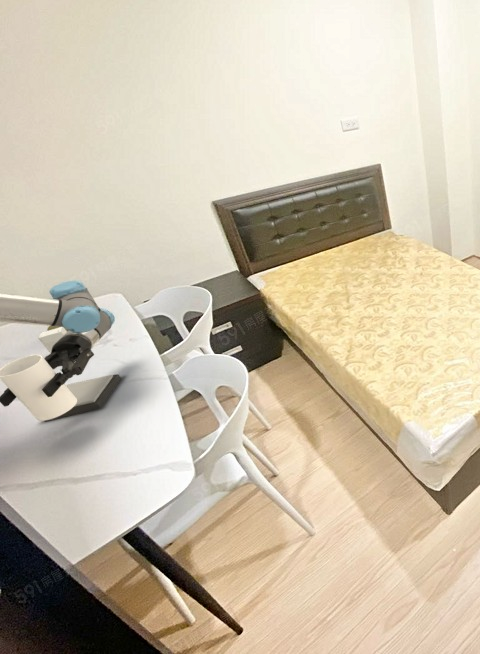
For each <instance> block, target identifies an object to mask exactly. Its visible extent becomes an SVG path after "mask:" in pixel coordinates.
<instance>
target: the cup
mask: <svg viewBox="0 0 480 654" xmlns="http://www.w3.org/2000/svg"><path fill="white" fill-rule="evenodd" d="M44 358H45V357H43V356H42V355H41V354H30V355H26V356H23V357H19V358H16V359H14V360H12V361H10V362H8V363H6V364H5V365H3V366H2V367H1V368H0V381H1V382H2V383H3V384H4V385H5V386H6V387H7V388H9V389H10V390H11V391H12V392H13V394H14V395H15V396H16V399H18V401H20V403H22V405H23V406H24V407H25V408H26V409H27V410H28V411H29V412H30V414H32V416H33V417H34V418H35V419H36V420H37V421H40V422H45V420H50V419H53V418H56V417H58V416H60V415H62V414H64V413H66V412H67V411H69V410H70V409H72V408H73V407H74V406H75V405H76V403H77V399H76V397H75V396H74V395H73V394H72V392H71V391H70V390H69V389H68V388H67V384H65V383H64V384H63V385H61V386H60V388H59V389H58V390H57V391H56V392H55V393H54V394H53V396H52V397H47V395H46V394H45V393H44V392H43V391H42V389H43V388H44V387H45V386H46V384H47V383H48V382H49V381H50V380H51V379H52V378H53V377H54V376H55V375H56V374H57V372H56V371H55V369H52V368H51V367H50V365H49V364H48V363H47V362H46V360H45V359H44ZM50 421H51V420H50Z"/></svg>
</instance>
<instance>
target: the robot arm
mask: <svg viewBox="0 0 480 654" xmlns="http://www.w3.org/2000/svg"><path fill="white" fill-rule="evenodd" d="M49 294H50V296H51V298H48V297H41V296H31V295H23V294H12V293H5V292H0V323H5V324H17V325H19V324H21V325H33V326H35V325H36V326H48V327H49V326H58V327H65V328H66V329H67V330H69V331H68V332H67V333H65V334H64V335H63V336H62V337H61V339H59V340H58V341H57V342H56V343H55V344H54V345H53V347H52V351H51V353H49V354H48V355H46V356H45V357H43V358H44V359H45V360H46V362H47V363H48V364H49V365H50V367H51V368H52V369H53V370H55V369H57V368H58V367H62V368H61V369H59V370H60V371H59V372H56V375H55V376H54V377H53V378H52V379H51V380H50V381H49V382H48V383H47V384H46V386H45V387H44V388H43V389H42V391H43V392H44V393H45V394H46V395H47V397H52V396H53V394H54V393H55V392H56V391H57V390H58V389H59V388H60V386H61V385H63V384H65V383H66V382H67V381H68V380H69V379H71V378H73V377H74V376H81V375H82V374H83V373H84V370H85V369H86V367H87V365H88V363H89V361H90V359H92V358H93V357H94V356H95V353H94V352H93V350H92V349H93V348H94V347H95V346H96V345H97V343H98V342H99V341H100V340H101V339H102V338H103V337H104V336H105V334H107V332H109V331H110V330H111V328H112V326H113V325H114V324H115V320H116V319H115V315H114V314H113V312H111V311H109V310H108V309H106V308H101V307H99V305H98V303H97V302H96V301H95V299H94V297H93V296H92V294H91V292H90V291H89V290H88V287H86V286H85V284H84V283H83V282H82V281H81V280H68V281H64V282H61V283H59V284H58V283H57V284H55V285H54V286H52V287H51V288H50V289H49ZM16 399H17V397H16V396H15V395H14V394H13V392H12V391H11V390H10V389H9V388H8V387H7V388H6V389H5V390H4V391H3V393H2V394H1V395H0V404H1V405H2V406H3V408H6V407H8V406H10V405H11V404H12V403H13V402H14V401H15V400H16Z"/></svg>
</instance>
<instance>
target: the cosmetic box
mask: <svg viewBox="0 0 480 654" xmlns="http://www.w3.org/2000/svg"><path fill="white" fill-rule="evenodd" d="M65 333H67V331H66V330H65V328H64V327H59V328H56V329H52V330H49V331H47V330H45V331H43V332H40V334H39V336H38V338H37V339H38V340H39V342H41V344H42V345H43V346H44V347H45V349H46V350H47V351H48V353H49V354H51V351H52V347H53V345H54V344H55V343H56V342H57V341H58V340H59V339H61V337H62V336H63V335H64V334H65Z"/></svg>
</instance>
